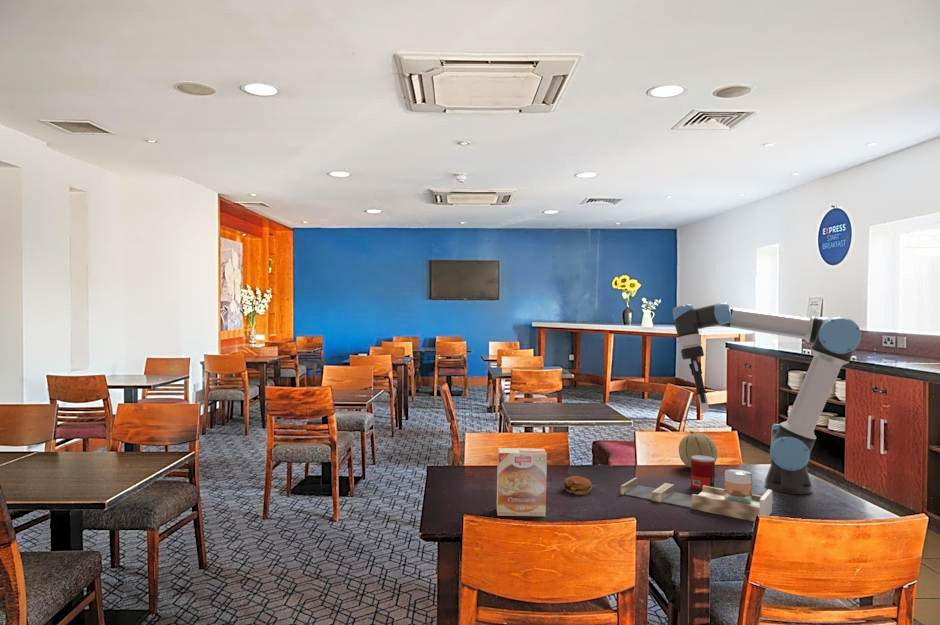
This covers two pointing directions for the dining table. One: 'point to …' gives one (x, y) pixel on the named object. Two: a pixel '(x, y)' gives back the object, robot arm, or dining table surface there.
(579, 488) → the burger
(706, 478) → the canned food
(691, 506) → the tray
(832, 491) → the dining table surface
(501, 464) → the coffeecake box
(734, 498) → the tin
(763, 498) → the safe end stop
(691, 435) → the cantaloupe
